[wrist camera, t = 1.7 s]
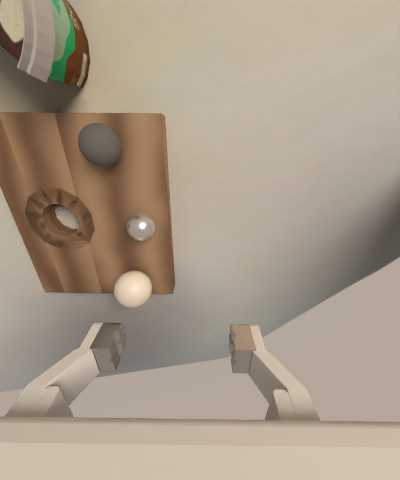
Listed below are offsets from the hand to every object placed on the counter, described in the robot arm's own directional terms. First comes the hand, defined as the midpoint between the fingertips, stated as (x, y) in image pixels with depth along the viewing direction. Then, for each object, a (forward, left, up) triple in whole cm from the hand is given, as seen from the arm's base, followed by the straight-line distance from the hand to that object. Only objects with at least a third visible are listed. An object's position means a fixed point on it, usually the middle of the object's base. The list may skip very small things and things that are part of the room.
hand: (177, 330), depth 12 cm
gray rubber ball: (+9, -9, -15) cm, 19 cm away
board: (+13, 0, -19) cm, 23 cm away
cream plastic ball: (+8, +9, -14) cm, 19 cm away
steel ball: (+6, 0, -15) cm, 16 cm away
